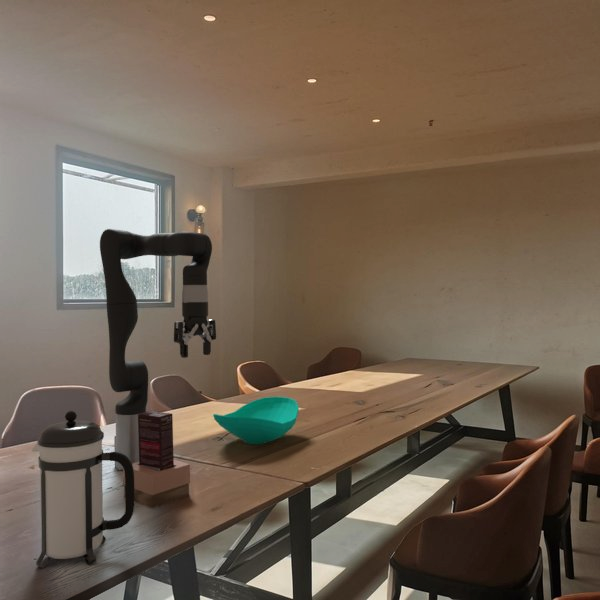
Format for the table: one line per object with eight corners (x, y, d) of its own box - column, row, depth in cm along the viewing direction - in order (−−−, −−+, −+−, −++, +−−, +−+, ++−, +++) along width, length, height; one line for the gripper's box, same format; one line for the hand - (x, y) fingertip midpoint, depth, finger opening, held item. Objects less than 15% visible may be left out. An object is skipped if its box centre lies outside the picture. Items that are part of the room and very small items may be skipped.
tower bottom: (124, 500, 150) (124, 485, 150) (161, 487, 159) (161, 473, 159) (152, 510, 142) (151, 494, 142) (189, 497, 152) (188, 482, 152)
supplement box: (174, 472, 151) (173, 413, 150) (161, 477, 147) (160, 416, 146) (151, 467, 155) (150, 410, 155) (138, 472, 151) (136, 413, 151)
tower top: (123, 484, 150) (123, 465, 150) (160, 473, 160) (160, 455, 159) (152, 495, 142) (152, 475, 142) (190, 482, 151) (189, 464, 151)
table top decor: (253, 426, 230) (252, 394, 230) (314, 433, 218) (314, 399, 218) (194, 451, 194) (193, 413, 194) (263, 461, 182) (263, 420, 182)
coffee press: (55, 582, 106) (53, 423, 106) (20, 556, 117) (18, 412, 116) (137, 550, 119) (135, 408, 119) (98, 529, 129) (97, 399, 129)
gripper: (204, 300, 172) (205, 353, 172) (167, 301, 161) (168, 357, 161) (221, 300, 168) (222, 354, 168) (184, 301, 156) (185, 359, 156)
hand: (195, 356), depth 164 cm, fingers open, 8 cm apart
